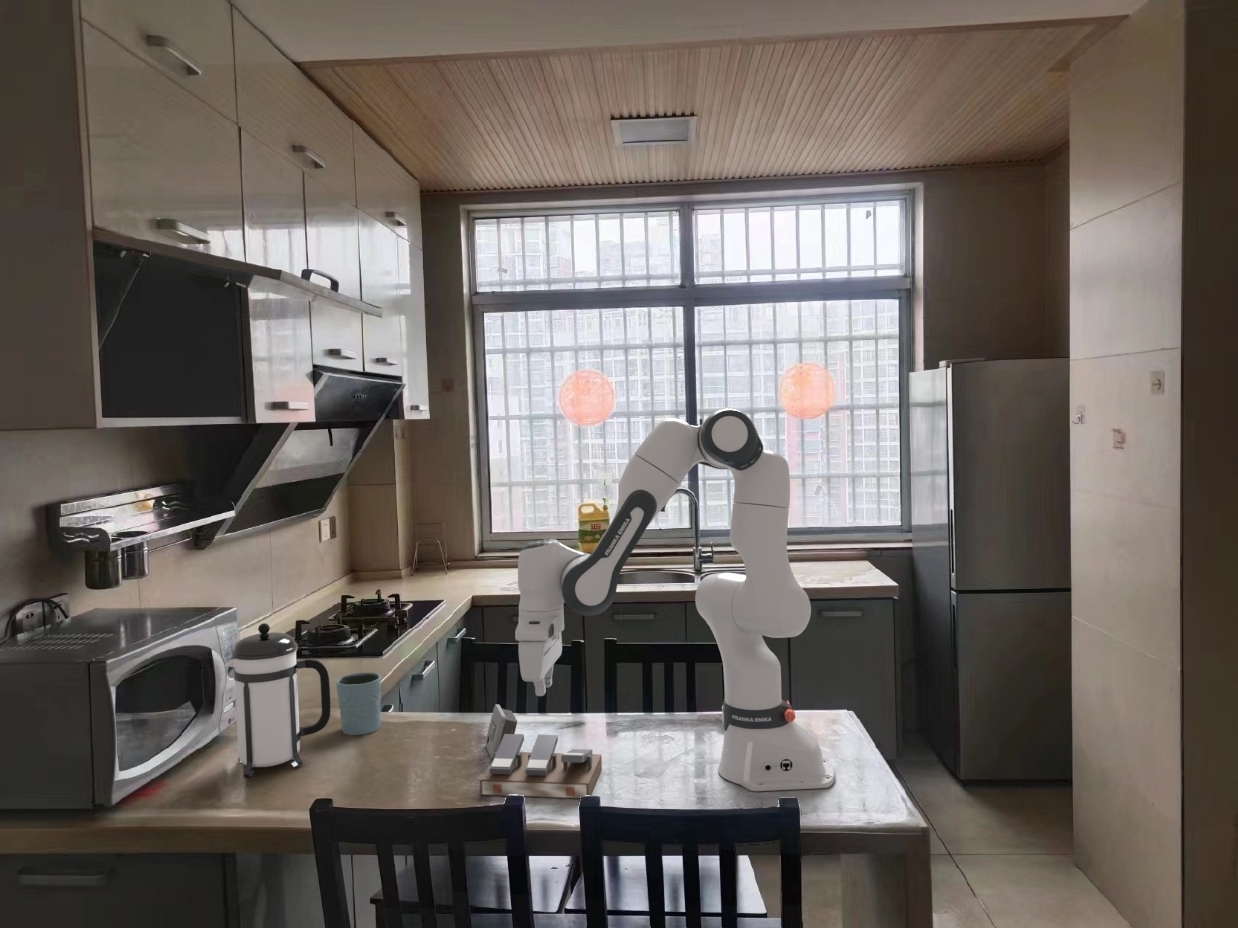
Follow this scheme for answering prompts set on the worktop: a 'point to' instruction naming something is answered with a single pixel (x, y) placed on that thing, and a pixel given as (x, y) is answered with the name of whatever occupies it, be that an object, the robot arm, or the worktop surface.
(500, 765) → the rocker
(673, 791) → the worktop surface
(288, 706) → the coffee press
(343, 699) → the blue embossed cup
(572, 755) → the rocker
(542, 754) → the rocker middle
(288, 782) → the worktop surface
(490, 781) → the switch unit
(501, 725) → the electrical switch
